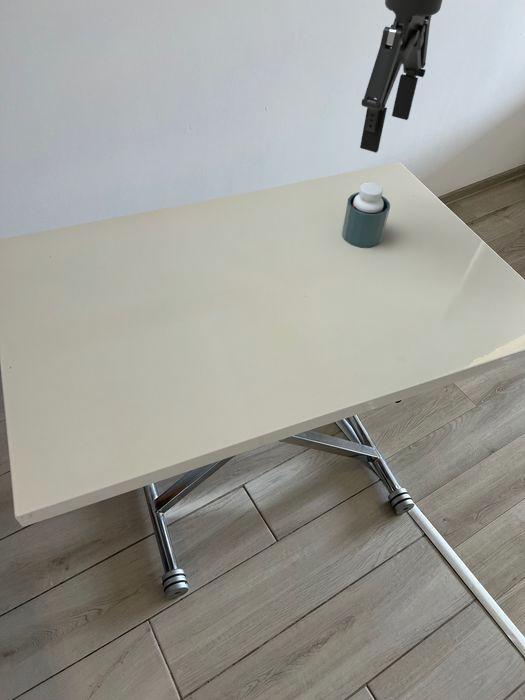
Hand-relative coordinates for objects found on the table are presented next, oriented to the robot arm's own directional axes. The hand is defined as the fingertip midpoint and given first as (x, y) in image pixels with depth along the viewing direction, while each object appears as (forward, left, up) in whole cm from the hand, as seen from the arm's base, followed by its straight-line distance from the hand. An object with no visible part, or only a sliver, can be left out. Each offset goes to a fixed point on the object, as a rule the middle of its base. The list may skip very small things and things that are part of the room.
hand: (385, 132), depth 85 cm
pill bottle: (0, 0, -20) cm, 20 cm away
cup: (0, 0, -20) cm, 20 cm away
